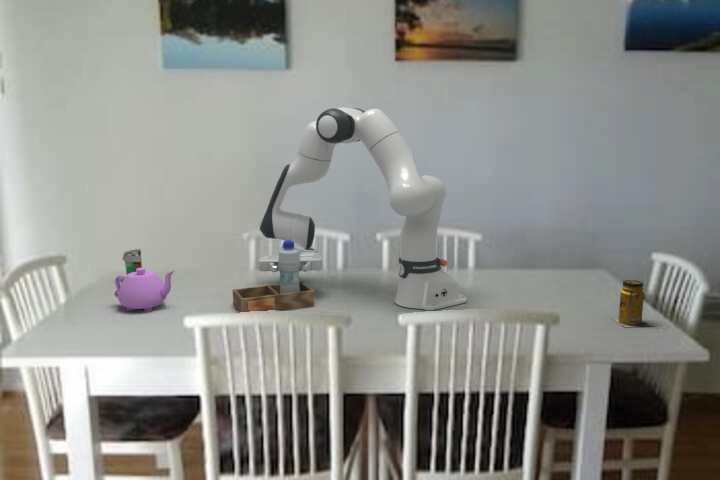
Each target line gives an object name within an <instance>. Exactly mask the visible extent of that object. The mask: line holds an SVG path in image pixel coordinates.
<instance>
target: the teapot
mask: <svg viewBox="0 0 720 480" xmlns="http://www.w3.org/2000/svg"><path fill="white" fill-rule="evenodd" d="M174 272H176V269H174V270H171V271H168V272H166V273H165V277H164V282H163V281H162V279H161V278H160V276H159V275H158V274H157V273H156V272H154V271H153V270H152V271H151V270H147V269H146V267H142V268H137V269H136V272H132V273H129V274H128V275H127V274H125V273H122V274H119V275H117V276H116V277H115V279H114V283H115V286H116V289H117V290H115V291H114V297H115V298H117V300H118V303H120V304H121V305H122V306H123V307H124V308H126V309H125V311H127V312H128V311H134V310H139V309H140V310H141V309H142V310H144V312H151V311H153V308H154V307H158V306H160V305H162V303H163V302H165V300H166V298H167V295H169V293H170V291H171V288H172V281H171V280H172V279H171V278H172V275H173V273H174ZM121 278H122V279H123V281H122V282H120V279H121ZM120 283H121V284H120Z"/></svg>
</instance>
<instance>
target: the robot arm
mask: <svg viewBox="0 0 720 480" xmlns="http://www.w3.org/2000/svg"><path fill="white" fill-rule="evenodd" d="M360 141H361V142H362V143H363V145H364V146H365V148H366V149H367V151H368V153H369V154H370V156H371V157H372V159H373V160H374V162H375V163H376V165H377V166H378V168H379V170H380V171H381V174H382V176H383V179H384V180H385V183H386V186H387V189H388V191H389V198H388V199H389V205H390V207H391V209H392V210H393V212H395V213H396V214H397V215H399V216H402V217H405V219H404V223H403V225H402V229H401V230H400V234H399V236H400V238H399V241H400V242H399V244H400V246H399V248H400V249H399V251H400V252H399V254H400V255H399V257H398V268H397V269H398V276H399V277H398V285H397V290H396V296H395V297H394V303H395V304H396V305H398V306H400V307H404V308H409V309H417V310H418V309H420V310H425V311H435V309H436V310H439V309H444V308H448V307H452V306H458V305H461V304H464V303H467V297H466V296H465V295H464V294H463V293H460V288H459V283H458V282H457V280H456V279H455V278H454V277H452V276H451V275H449V274H448V273H447V272H446V271H444V270H443V269H442V267H447V266H448V261H447V260H446V259H443V258H441V259H440V258H439V257H437V243H438V242H437V236H438V229H439V224H440V218H441V214H442V209H443V208H442V207H443V203H444V201H445V199H446V196H447V187H446V185H445V183H444V182H443V181H442V180H441V179H440V178H439V177H438V176H437V177H436V176H434V175H429V174H428V175H427V174H425V175H420V173H419V170H418V169H417V166H416V164H415V158H414V157H415V156H414V152H413V151H412V149H411V148H410V146H409V144H408V142H407V141H406V140H405V138H404V137H403V135H402V134H401V132H400V131H399V129H398V128H397V126H396V125H395V124H394V123H393V121H392V120H391V118H389V117H388V115H387V114H386V113H385V112H384V111H382V110H381V109H379V108H370V109H366V111H365V110H364V109H361V108H358V107H346V106H344V107H343V106H342V107H335V108H334V107H332V108H329V109H326V110H324V111H323V112H321V113H320V114H319V115H318V117H317V120H314V121H311V122H309V123H308V124H307V125H306V127H305V129H304V132H303V134H302V137H301V140H300V144H299V146H298V151H297V154H296V157H295V158H294V160H293V161H292V162H291V163H289V164H286V165H285V166H284V168H283V169H282V170H281V173H280V176H279V178H278V180H277V182H276V185H275V188H274V190H273V192H272V195H271V198H270V199H269V203H268V206H267V207H266V209H265V210H264V212H263V213H262V216H261V218H260V221H259V231H260V233H262V235H263V236H264V237H265V238H266V239H274V240H276V239H277V240H281V241H284V242H285V241H293V242H294V249H296V250H298V251H299V257H300V266H299V272H308V271H321V270H323V256H322V254H321V253H319V251H318V249H317V248H312V245H313V242H314V238H315V231H316V224H315V221H314V220H313V219H312V216H307V215H303V214H300V213H295V212H291V211H285V210H283V209H281V206H282V204H283V201H284V198H285V196H286V193H287V191H288V190H289V189H290V188H292V187H293V186H297V185H302V184H309V183H315V182H318V181H320V180H321V179H323V178H324V177H325V176H326V175H327V174H328V171H329V169H330V166H331V162H332V158H333V153H334V150H335V147H336V145H337V144H352V143H354V142H355V143H356V142H360ZM282 249H284V248H283V244H282V246H281V247H280V250H279V251H281V250H282ZM278 259H279V254H278V255H263V256H261V257H260V258H259V259H258V271H259V272H272V273H277V272H280V267H279V263H278Z"/></svg>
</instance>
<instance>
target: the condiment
mask: <svg viewBox="0 0 720 480" xmlns="http://www.w3.org/2000/svg"><path fill="white" fill-rule="evenodd" d="M643 286H644V283H643V281H640V280H635V279H625V280H623V281H622V289H621V290H620V296H619V297H620V298H619V309H618V318H613V321H615V322H616V323H618V324H619V325H620V326H623V327H624V328H638V327H639V328H640V327H654V326H655V325H654V324H652V323H650V322H648V321H647V320H645V319H643V311H644V309H643V308H644V300H645V299H644V298H645V293H644V287H643Z"/></svg>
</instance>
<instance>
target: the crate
mask: <svg viewBox="0 0 720 480" xmlns="http://www.w3.org/2000/svg"><path fill="white" fill-rule="evenodd" d="M299 286H300V292H293V293H284V294H280V283H277V284H268V285H260V286H250V287H240V288H234V289H232V305H233V306H235V309H236V311H237V312H238V311H239V312H250V311H268V310H283V311H289V310H290V311H291V310H297V309H304V308H311V307H315V290H314V289H312V288H311V287H310V286H309V285H308V284H306V283H304V282H303V281H299ZM239 312H238V313H239Z"/></svg>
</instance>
